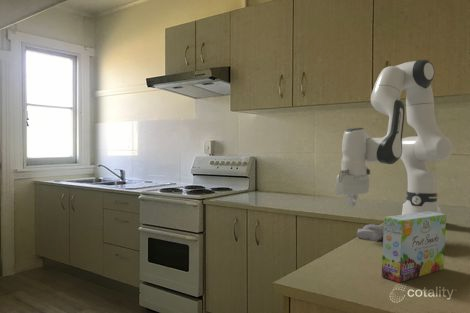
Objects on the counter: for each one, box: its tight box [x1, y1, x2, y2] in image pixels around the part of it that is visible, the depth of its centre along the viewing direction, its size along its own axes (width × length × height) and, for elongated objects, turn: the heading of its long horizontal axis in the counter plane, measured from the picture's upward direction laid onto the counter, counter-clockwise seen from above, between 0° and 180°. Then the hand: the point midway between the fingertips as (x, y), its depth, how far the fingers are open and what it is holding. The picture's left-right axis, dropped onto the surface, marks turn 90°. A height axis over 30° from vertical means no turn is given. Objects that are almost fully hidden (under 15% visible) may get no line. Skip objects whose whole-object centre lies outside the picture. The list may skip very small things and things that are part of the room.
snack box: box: [381, 212, 447, 283], centre depth 97 cm, size 21×6×15 cm, turn 126°
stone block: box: [356, 223, 384, 242], centre depth 138 cm, size 12×5×10 cm
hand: (351, 206), depth 145 cm, fingers closed
